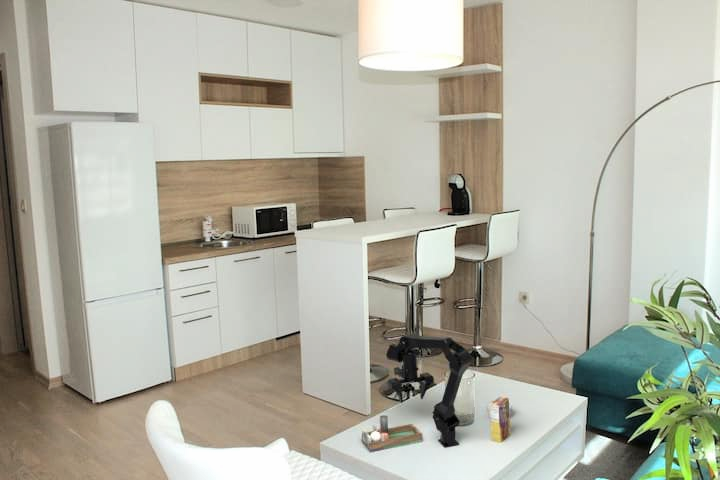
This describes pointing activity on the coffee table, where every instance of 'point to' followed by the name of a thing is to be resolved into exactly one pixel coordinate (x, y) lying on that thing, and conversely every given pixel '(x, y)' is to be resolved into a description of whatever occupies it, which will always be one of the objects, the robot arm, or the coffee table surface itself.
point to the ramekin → (489, 408)
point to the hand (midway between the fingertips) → (411, 400)
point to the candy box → (500, 419)
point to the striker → (383, 426)
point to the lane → (392, 437)
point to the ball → (375, 436)
